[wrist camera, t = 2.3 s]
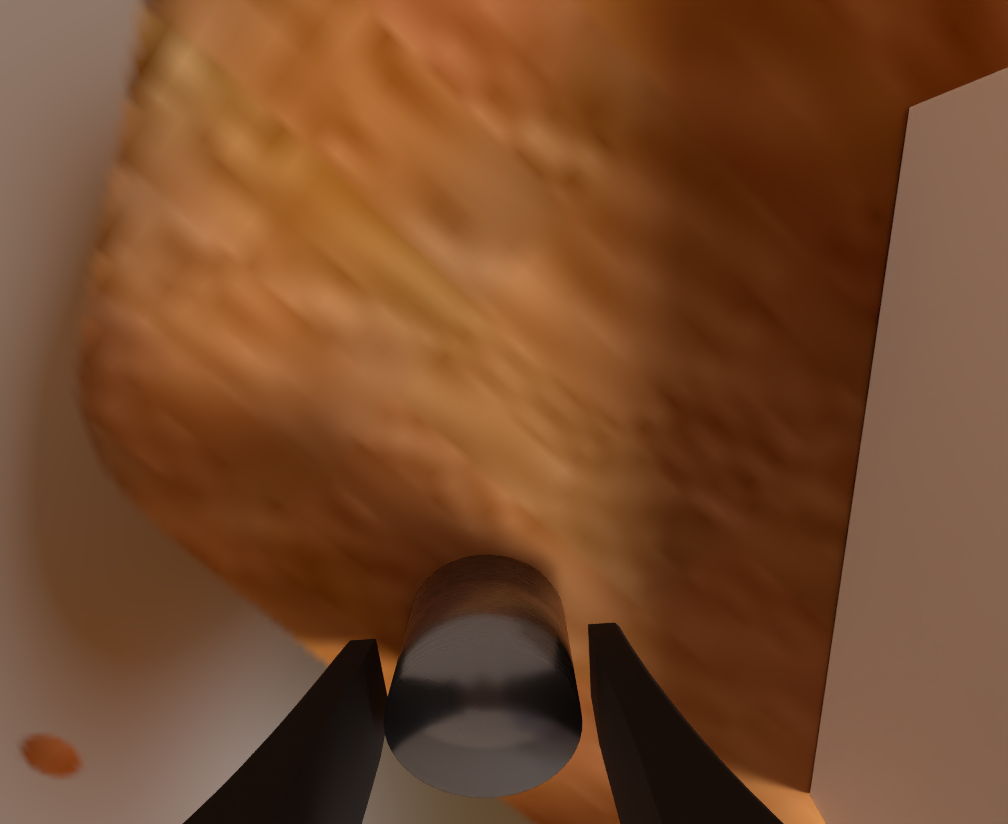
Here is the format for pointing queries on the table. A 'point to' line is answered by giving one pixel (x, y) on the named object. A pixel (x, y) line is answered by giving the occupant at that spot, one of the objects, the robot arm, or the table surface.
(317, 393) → the table surface
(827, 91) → the table surface
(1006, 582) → the box
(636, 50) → the table surface
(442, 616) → the dark grey rounded piece
